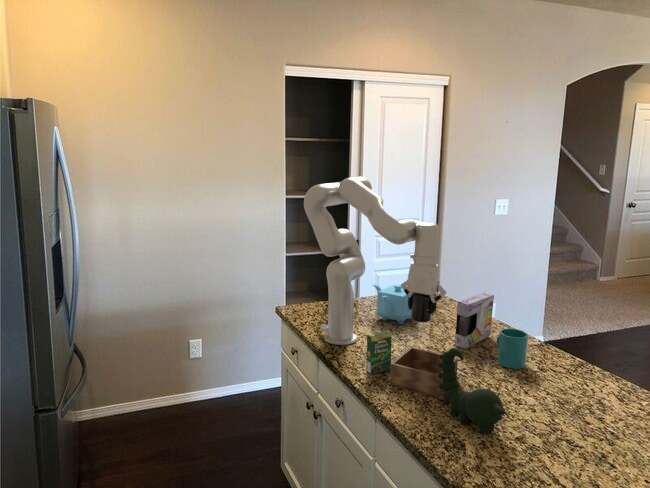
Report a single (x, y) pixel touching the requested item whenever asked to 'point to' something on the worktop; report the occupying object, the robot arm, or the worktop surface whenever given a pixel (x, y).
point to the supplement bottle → (421, 307)
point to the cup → (512, 348)
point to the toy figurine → (468, 397)
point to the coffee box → (378, 352)
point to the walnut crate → (418, 372)
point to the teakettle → (393, 304)
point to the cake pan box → (473, 319)
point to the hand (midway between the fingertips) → (421, 310)
